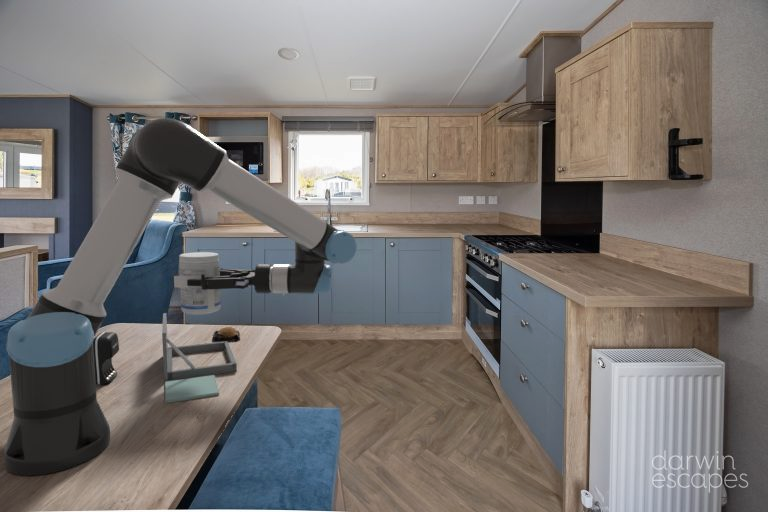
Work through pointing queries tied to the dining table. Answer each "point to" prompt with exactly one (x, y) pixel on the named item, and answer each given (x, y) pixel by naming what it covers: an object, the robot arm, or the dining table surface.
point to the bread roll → (226, 335)
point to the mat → (190, 388)
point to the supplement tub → (198, 298)
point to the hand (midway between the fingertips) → (182, 278)
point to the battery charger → (105, 356)
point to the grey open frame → (192, 371)
